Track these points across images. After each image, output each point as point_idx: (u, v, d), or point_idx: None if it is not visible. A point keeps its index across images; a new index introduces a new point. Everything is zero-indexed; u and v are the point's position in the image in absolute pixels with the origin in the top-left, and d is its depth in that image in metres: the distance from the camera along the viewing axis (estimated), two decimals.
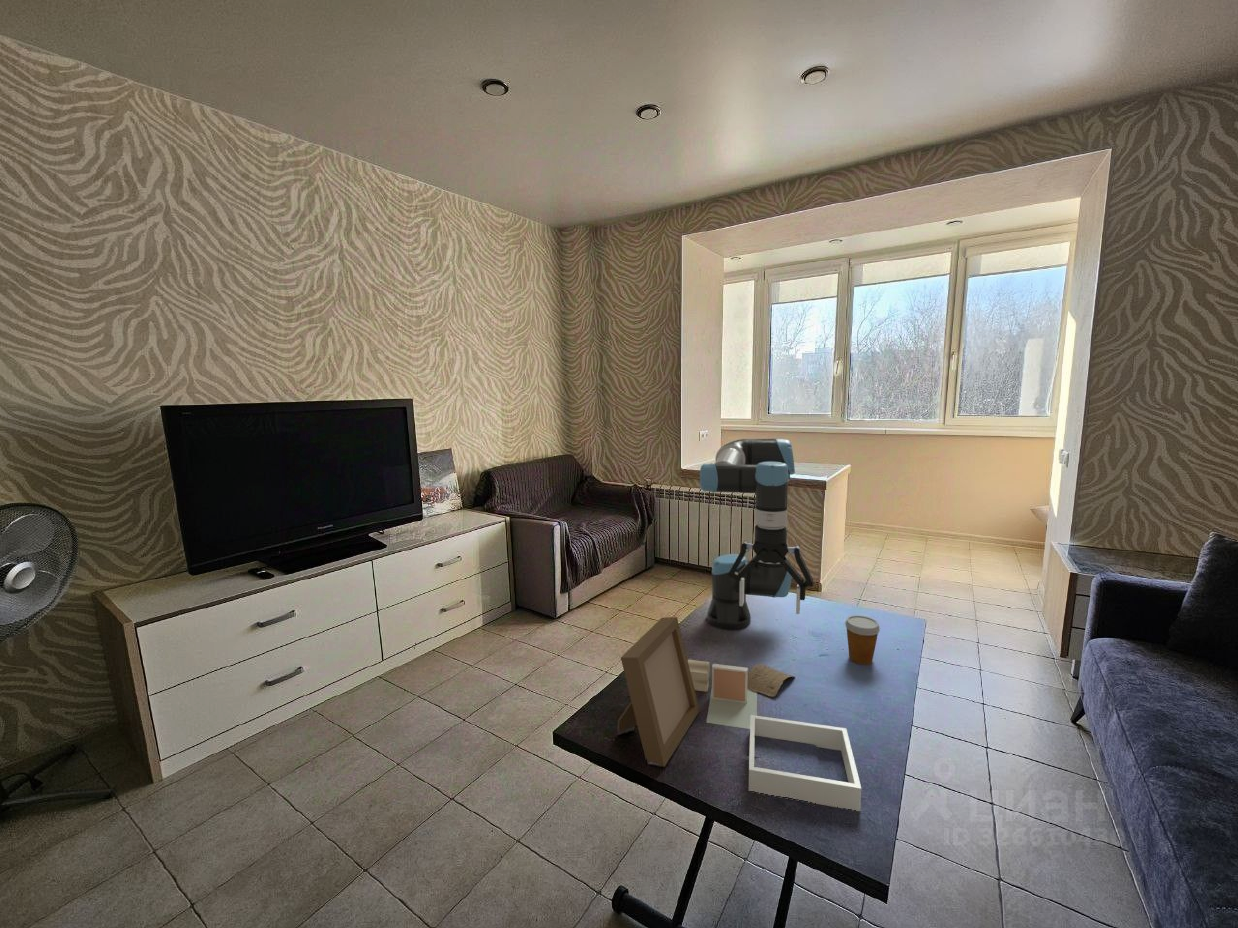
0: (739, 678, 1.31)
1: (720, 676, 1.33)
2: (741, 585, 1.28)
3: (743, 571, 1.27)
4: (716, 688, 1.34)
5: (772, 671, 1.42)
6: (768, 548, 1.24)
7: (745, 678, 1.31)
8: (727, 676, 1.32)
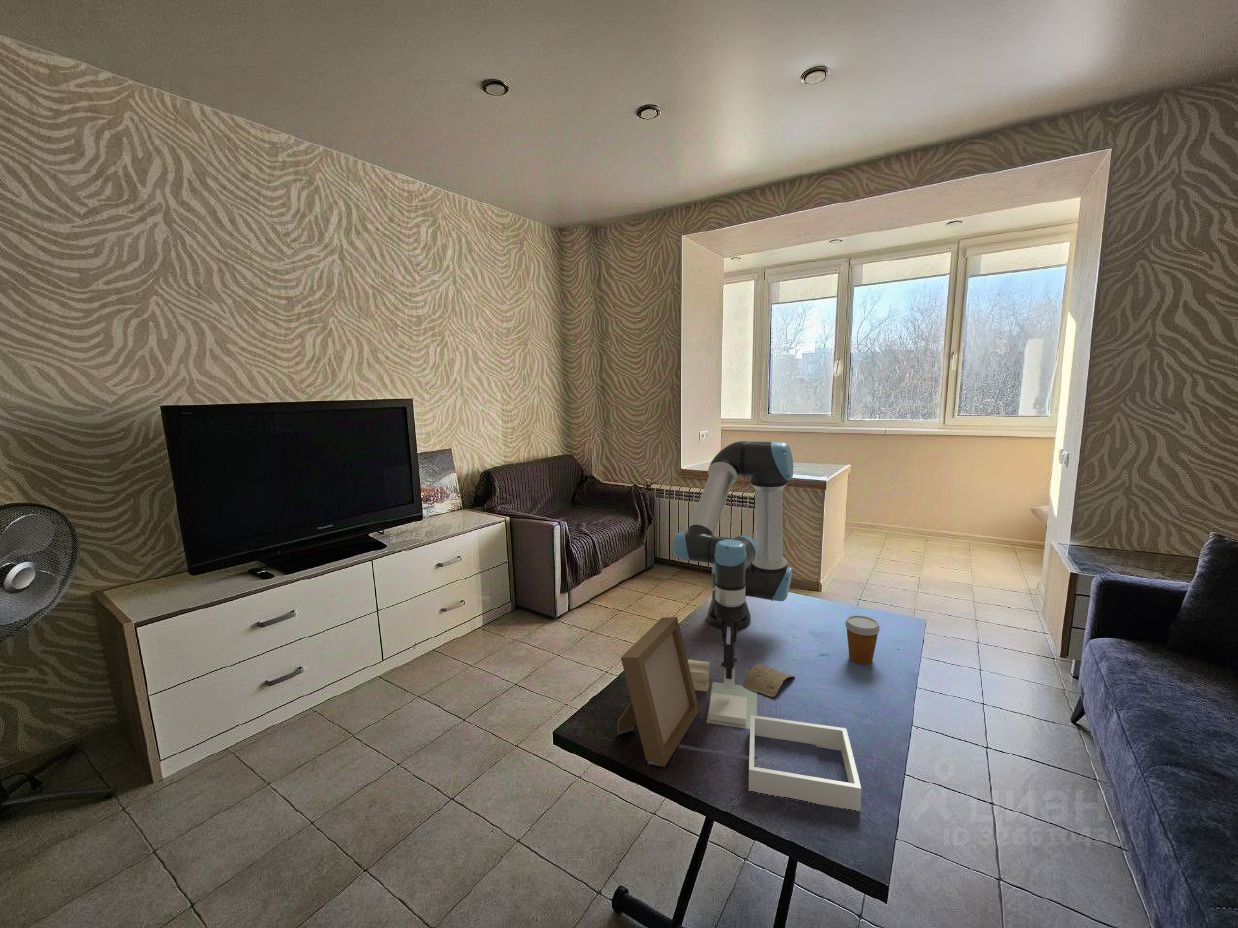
0: None
1: None
2: None
3: None
4: None
5: (772, 671, 1.42)
6: None
7: None
8: None
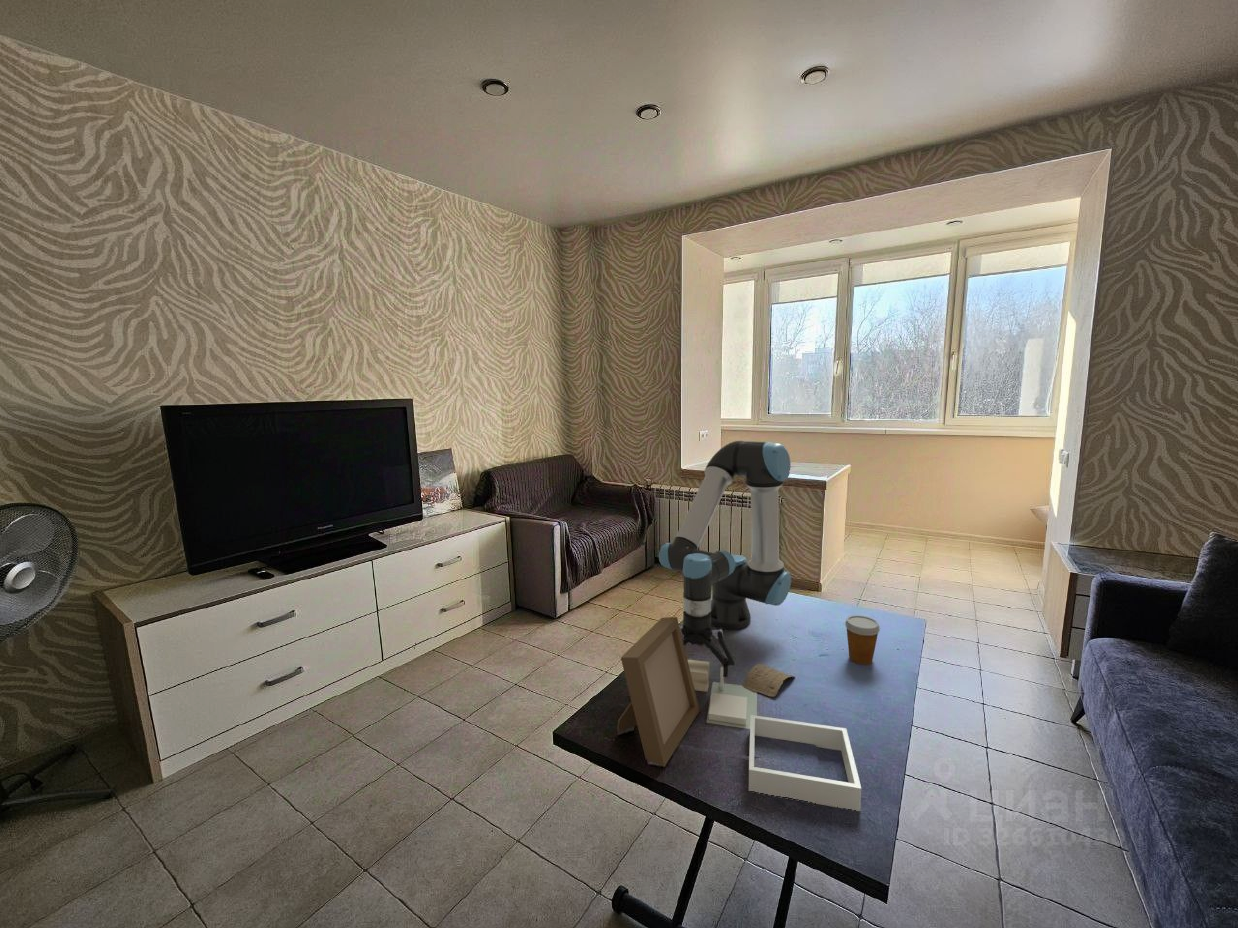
0: None
1: None
2: None
3: None
4: None
5: (772, 671, 1.42)
6: (695, 632, 1.38)
7: None
8: None
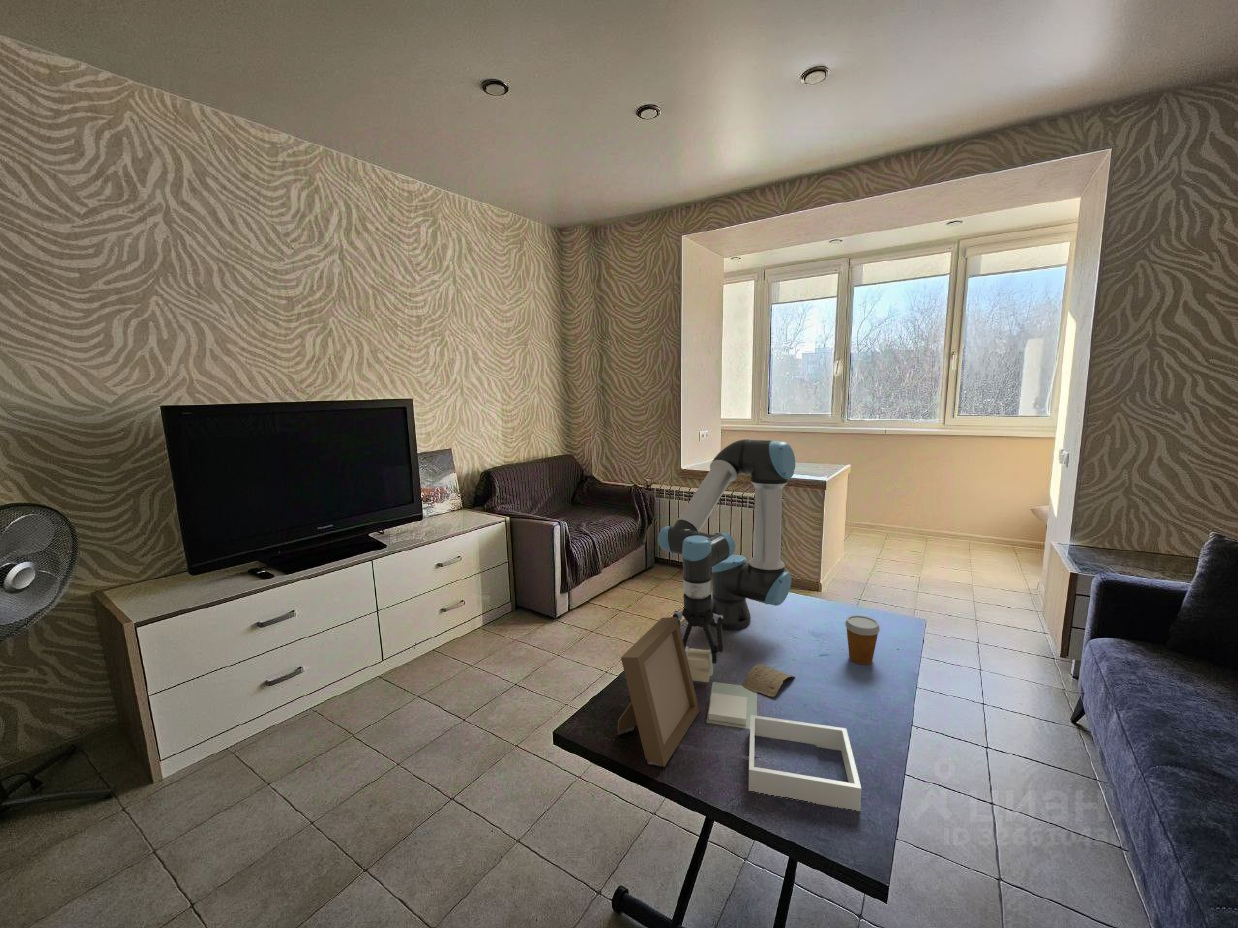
0: None
1: None
2: (686, 654, 1.40)
3: (684, 640, 1.39)
4: None
5: (772, 671, 1.42)
6: None
7: None
8: None
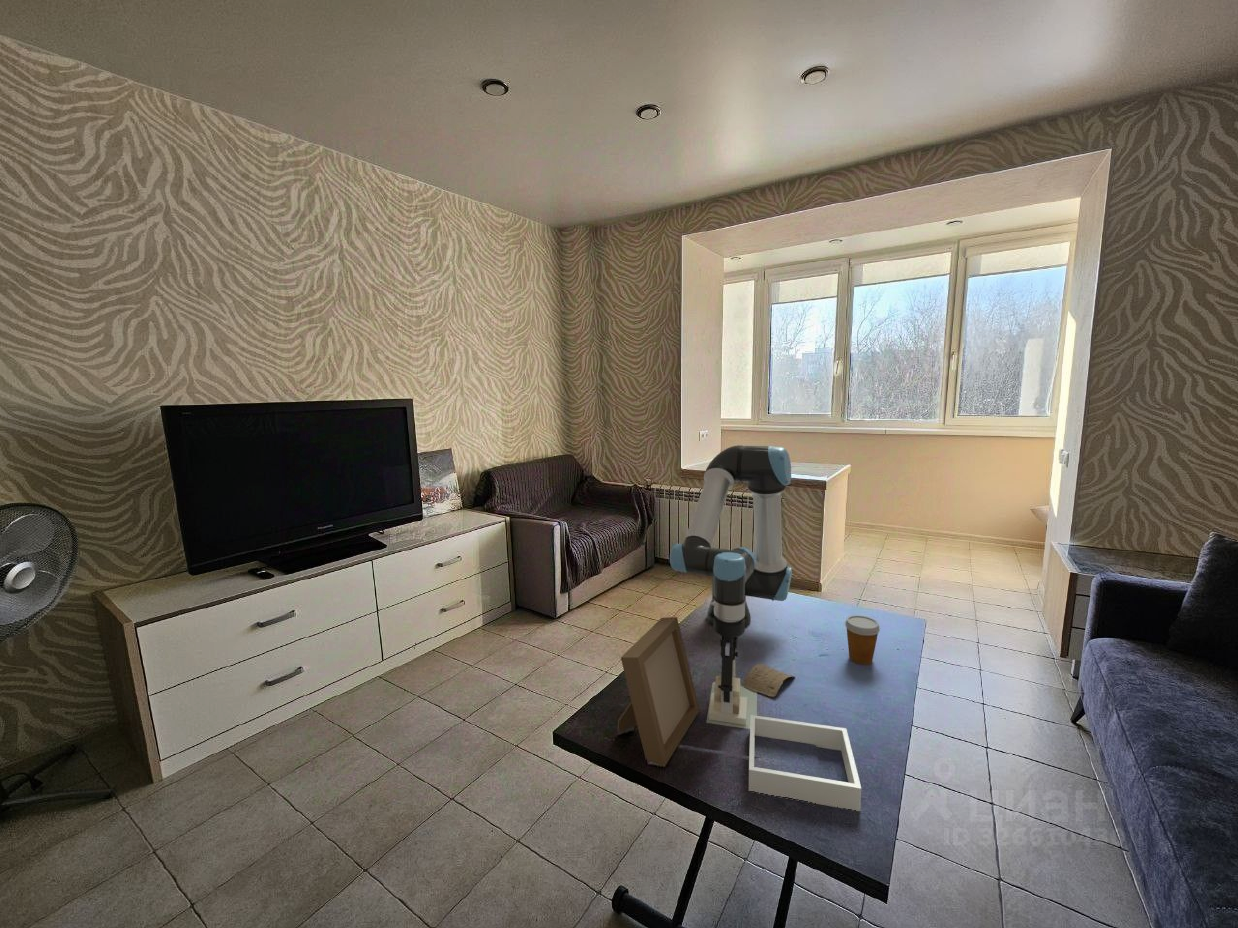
0: None
1: None
2: None
3: None
4: None
5: (772, 671, 1.42)
6: None
7: None
8: None
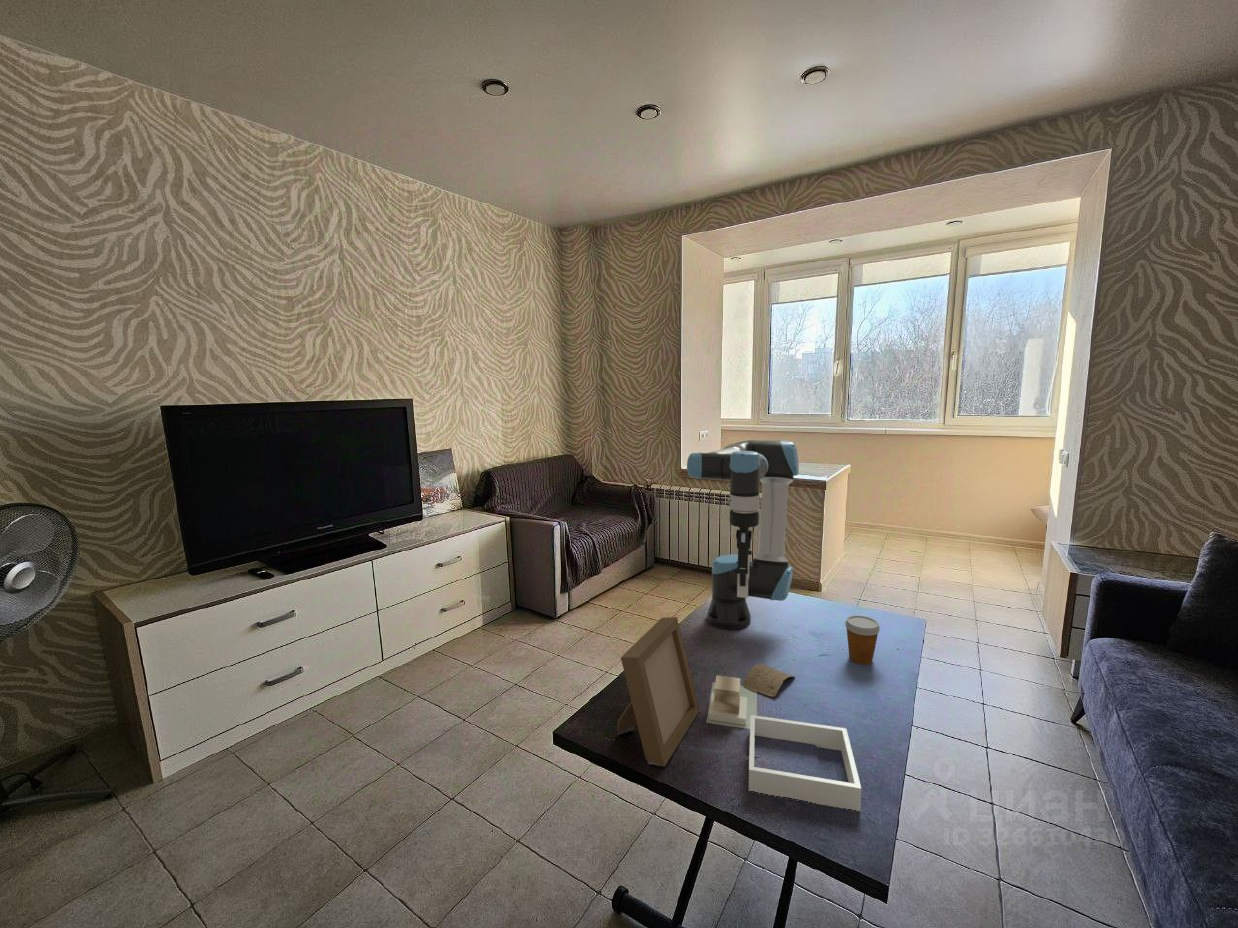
0: None
1: None
2: None
3: None
4: None
5: (772, 671, 1.42)
6: None
7: None
8: None
